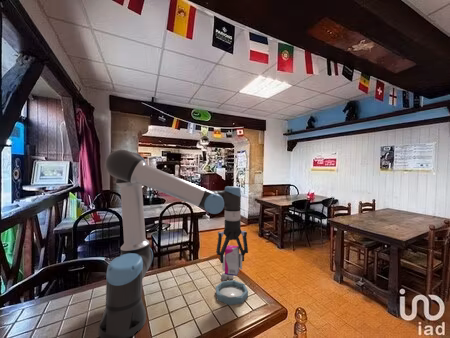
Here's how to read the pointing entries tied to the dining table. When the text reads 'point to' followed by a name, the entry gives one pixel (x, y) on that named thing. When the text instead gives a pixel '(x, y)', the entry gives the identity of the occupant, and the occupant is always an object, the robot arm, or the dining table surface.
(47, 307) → the dining table surface
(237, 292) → the dish
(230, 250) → the supplement box
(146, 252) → the robot arm
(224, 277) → the pebble pile
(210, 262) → the dining table surface
